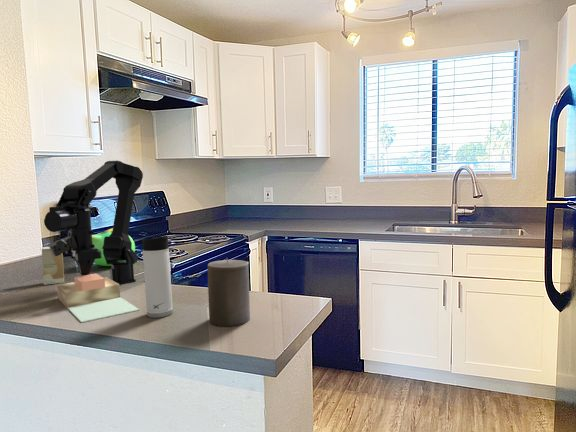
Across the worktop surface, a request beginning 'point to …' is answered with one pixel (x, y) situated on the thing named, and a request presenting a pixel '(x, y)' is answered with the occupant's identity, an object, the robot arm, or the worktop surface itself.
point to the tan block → (87, 293)
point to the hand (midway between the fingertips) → (84, 279)
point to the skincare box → (52, 267)
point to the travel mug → (157, 277)
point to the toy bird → (99, 242)
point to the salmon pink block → (89, 282)
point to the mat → (102, 309)
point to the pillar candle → (228, 292)
